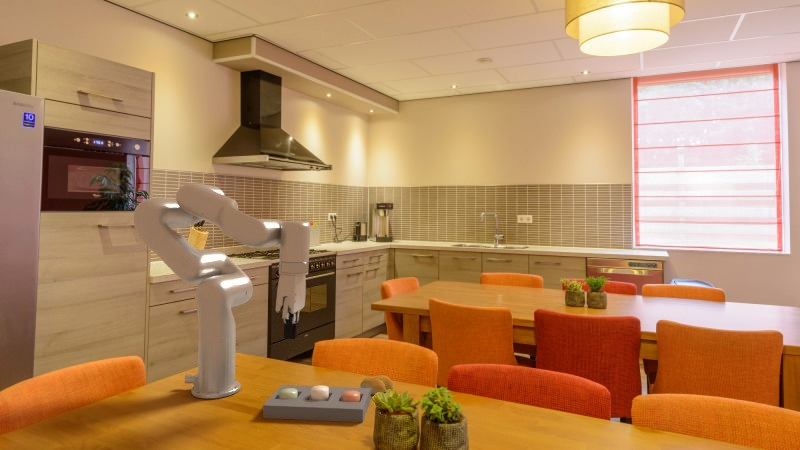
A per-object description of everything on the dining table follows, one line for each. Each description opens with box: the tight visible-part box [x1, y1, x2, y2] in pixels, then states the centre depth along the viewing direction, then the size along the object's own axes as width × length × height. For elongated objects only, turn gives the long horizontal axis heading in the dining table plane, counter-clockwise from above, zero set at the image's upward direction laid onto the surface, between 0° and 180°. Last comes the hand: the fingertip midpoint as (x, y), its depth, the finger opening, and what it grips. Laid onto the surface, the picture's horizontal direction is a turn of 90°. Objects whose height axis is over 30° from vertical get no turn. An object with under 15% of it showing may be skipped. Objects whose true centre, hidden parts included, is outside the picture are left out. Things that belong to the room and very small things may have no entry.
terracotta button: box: [342, 391, 360, 402], centre depth 116 cm, size 4×4×4 cm
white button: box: [311, 384, 330, 401], centre depth 117 cm, size 4×4×4 cm
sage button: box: [280, 388, 298, 400], centre depth 117 cm, size 4×4×4 cm
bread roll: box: [359, 374, 394, 394], centre depth 131 cm, size 8×9×4 cm
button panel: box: [262, 384, 371, 423], centre depth 117 cm, size 24×14×3 cm, turn 86°
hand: (290, 337), depth 122 cm, fingers closed
